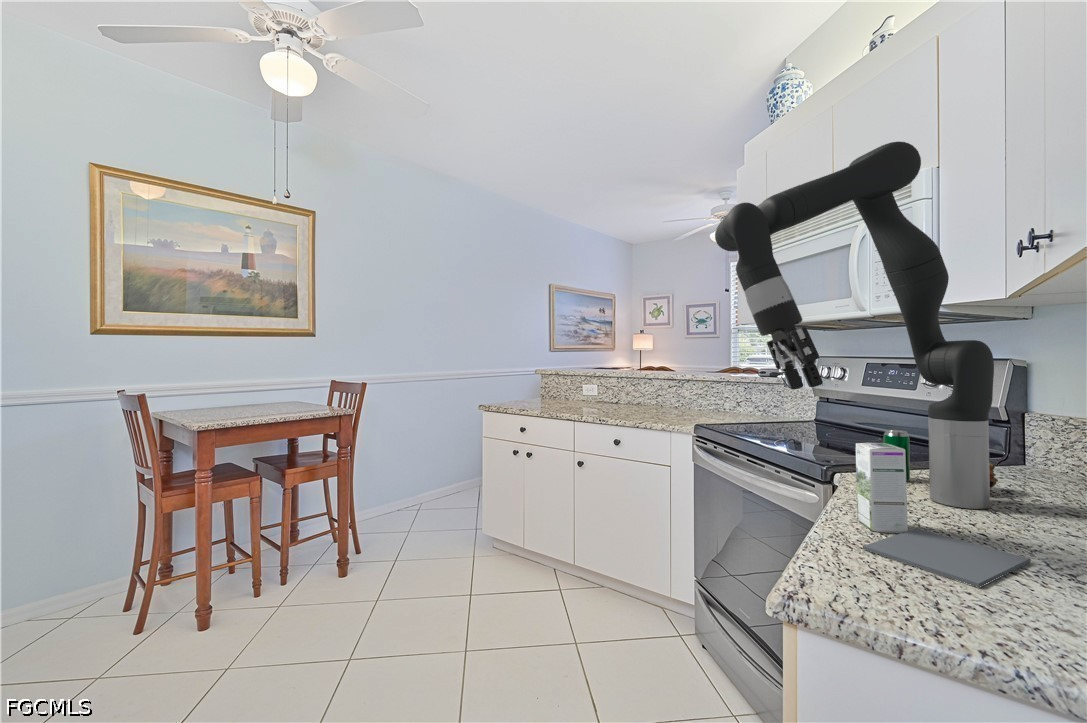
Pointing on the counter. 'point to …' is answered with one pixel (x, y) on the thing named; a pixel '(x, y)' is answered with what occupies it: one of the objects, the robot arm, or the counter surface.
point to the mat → (948, 556)
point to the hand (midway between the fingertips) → (806, 387)
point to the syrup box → (881, 487)
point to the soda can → (899, 445)
